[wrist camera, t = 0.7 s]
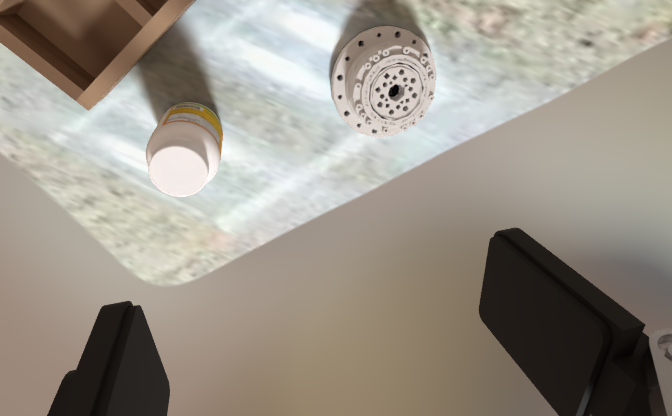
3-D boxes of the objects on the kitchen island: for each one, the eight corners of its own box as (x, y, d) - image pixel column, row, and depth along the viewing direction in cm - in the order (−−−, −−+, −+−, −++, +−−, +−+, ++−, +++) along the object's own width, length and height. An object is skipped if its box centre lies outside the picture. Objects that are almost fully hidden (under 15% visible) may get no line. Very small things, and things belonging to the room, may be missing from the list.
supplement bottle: (192, 168, 38) (179, 219, 30) (147, 126, 35) (119, 169, 27) (235, 133, 37) (234, 176, 29) (192, 87, 35) (177, 119, 26)
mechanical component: (400, 0, 35) (309, 70, 36) (419, 2, 31) (317, 79, 32) (446, 93, 40) (364, 151, 41) (467, 104, 36) (377, 167, 37)
